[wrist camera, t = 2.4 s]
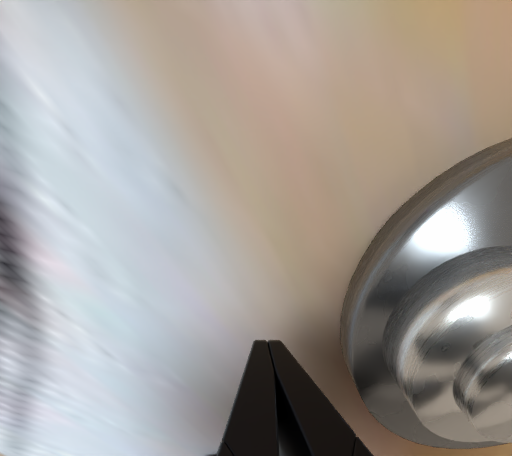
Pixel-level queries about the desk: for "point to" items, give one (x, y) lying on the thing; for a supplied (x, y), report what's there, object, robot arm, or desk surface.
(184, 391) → the desk surface
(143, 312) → the desk surface
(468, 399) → the cover
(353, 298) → the turntable
